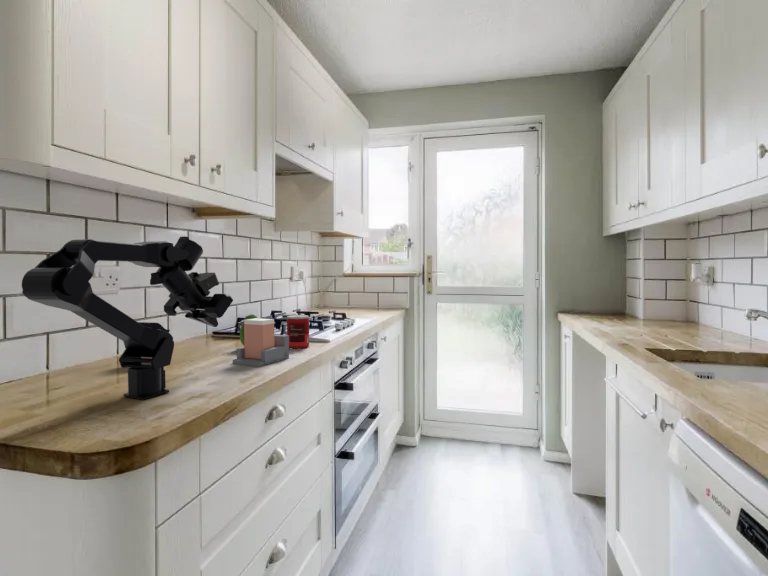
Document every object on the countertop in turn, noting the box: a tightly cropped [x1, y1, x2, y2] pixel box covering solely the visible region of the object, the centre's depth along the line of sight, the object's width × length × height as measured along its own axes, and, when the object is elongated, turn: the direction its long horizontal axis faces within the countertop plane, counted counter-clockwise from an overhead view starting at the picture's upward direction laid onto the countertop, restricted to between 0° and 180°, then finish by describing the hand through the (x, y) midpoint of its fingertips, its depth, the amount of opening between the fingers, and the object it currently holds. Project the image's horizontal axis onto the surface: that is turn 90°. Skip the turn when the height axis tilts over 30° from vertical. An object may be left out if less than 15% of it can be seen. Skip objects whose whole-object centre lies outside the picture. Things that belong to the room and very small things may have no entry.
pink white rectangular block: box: [243, 317, 275, 359], centre depth 129 cm, size 5×7×11 cm
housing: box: [232, 333, 290, 367], centre depth 129 cm, size 13×11×7 cm
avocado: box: [239, 314, 258, 346], centre depth 148 cm, size 8×8×12 cm
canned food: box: [286, 314, 310, 350], centre depth 152 cm, size 8×8×11 cm
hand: (216, 325), depth 114 cm, fingers closed
